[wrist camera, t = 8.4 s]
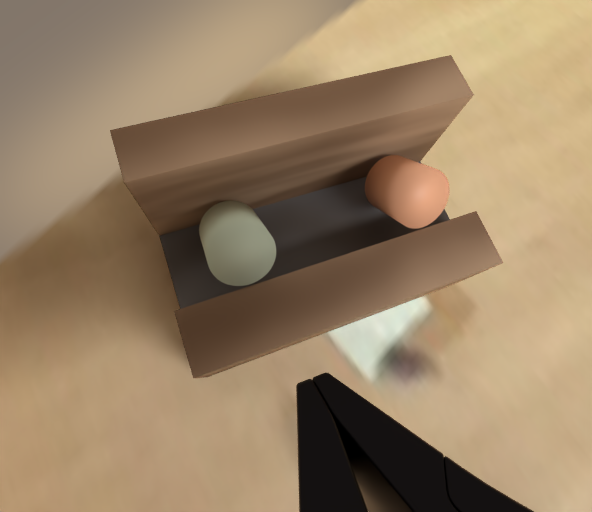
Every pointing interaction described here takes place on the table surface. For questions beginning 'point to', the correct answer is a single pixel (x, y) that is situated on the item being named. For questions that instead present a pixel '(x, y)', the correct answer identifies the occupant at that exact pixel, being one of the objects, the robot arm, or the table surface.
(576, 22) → the table surface
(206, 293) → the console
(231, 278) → the sage button
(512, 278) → the table surface
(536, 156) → the table surface
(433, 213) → the terracotta button
